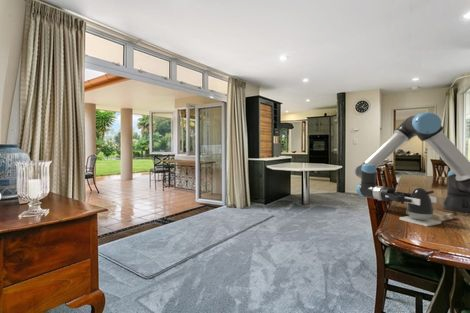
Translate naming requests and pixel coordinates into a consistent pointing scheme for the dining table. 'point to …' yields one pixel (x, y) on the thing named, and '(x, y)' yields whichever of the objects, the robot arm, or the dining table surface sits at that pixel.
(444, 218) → the square picture frame
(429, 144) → the robot arm
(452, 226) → the dining table surface
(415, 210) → the black tall egg-shaped piece
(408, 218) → the ceramic tile
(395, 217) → the dining table surface
